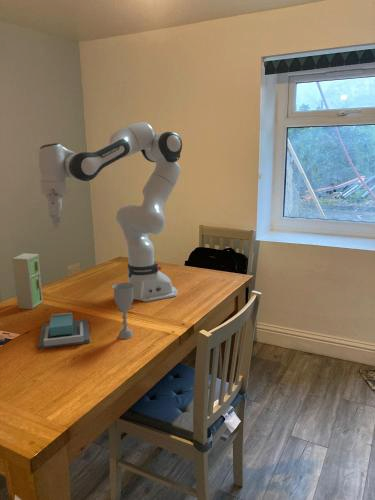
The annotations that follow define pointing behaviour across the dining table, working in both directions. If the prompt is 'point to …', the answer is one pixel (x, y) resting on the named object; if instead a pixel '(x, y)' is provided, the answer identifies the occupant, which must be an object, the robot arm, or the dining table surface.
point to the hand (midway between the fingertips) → (56, 225)
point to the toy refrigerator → (27, 280)
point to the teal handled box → (61, 324)
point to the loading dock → (65, 335)
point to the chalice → (124, 305)
